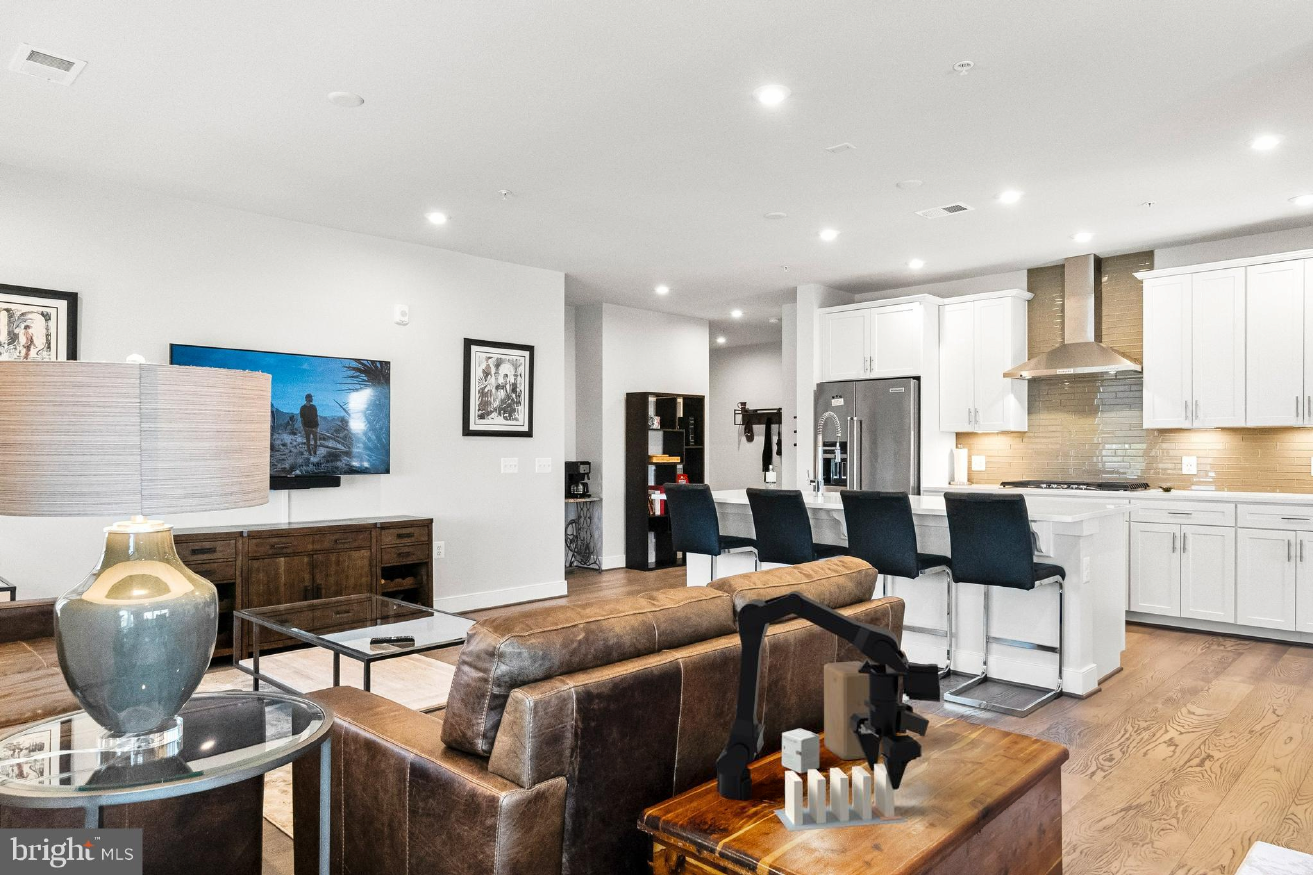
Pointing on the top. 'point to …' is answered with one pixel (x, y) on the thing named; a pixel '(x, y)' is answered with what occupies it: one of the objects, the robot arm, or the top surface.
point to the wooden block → (843, 707)
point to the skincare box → (800, 750)
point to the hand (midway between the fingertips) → (884, 779)
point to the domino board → (835, 822)
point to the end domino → (883, 791)
